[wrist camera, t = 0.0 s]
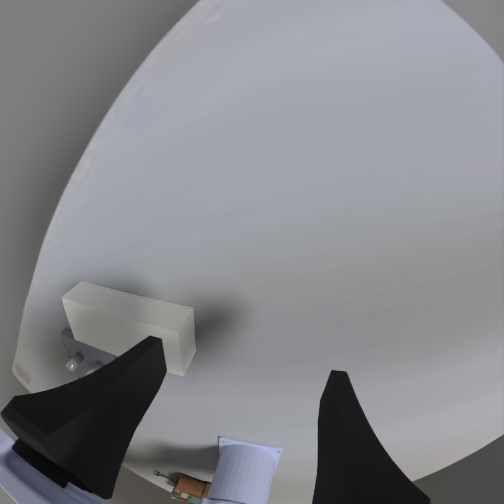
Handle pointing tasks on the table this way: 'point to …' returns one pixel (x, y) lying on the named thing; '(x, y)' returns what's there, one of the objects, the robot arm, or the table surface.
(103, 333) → the white rectangular block
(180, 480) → the decorative book
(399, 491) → the robot arm
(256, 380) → the table surface
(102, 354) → the peg stand
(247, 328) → the table surface
